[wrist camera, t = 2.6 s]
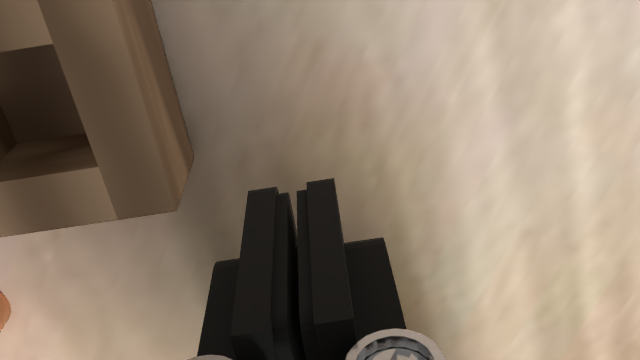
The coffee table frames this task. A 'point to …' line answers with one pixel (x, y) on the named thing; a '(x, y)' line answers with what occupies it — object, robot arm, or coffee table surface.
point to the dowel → (4, 310)
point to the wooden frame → (86, 115)
